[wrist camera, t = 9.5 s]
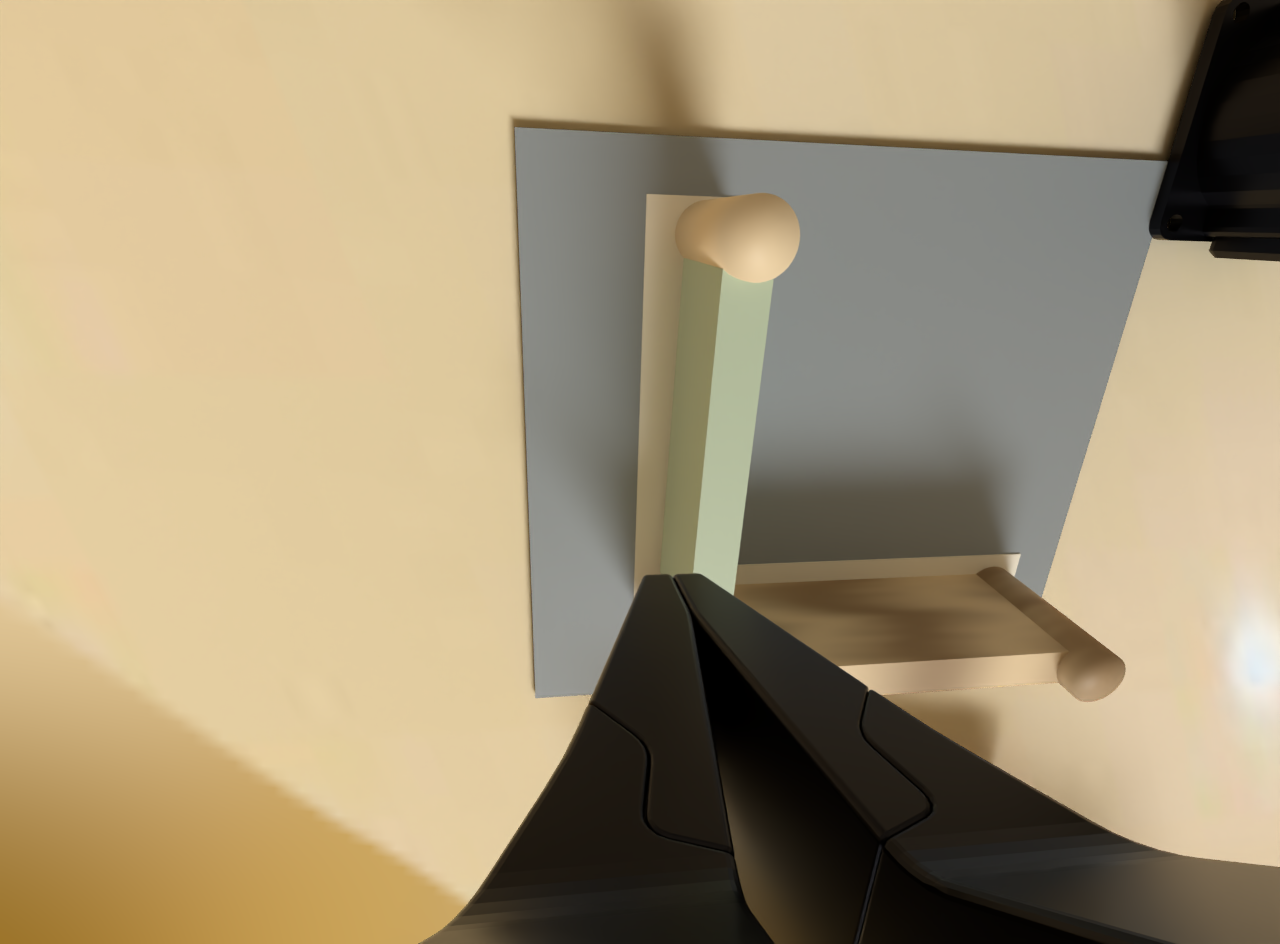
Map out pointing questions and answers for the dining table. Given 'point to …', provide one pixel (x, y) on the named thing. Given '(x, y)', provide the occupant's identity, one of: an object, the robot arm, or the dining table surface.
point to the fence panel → (720, 374)
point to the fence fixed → (940, 633)
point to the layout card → (817, 361)
